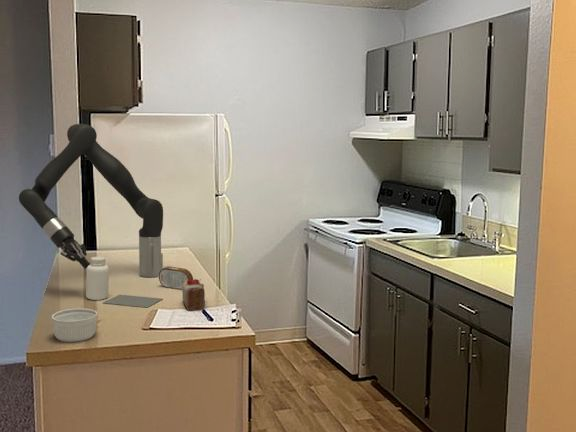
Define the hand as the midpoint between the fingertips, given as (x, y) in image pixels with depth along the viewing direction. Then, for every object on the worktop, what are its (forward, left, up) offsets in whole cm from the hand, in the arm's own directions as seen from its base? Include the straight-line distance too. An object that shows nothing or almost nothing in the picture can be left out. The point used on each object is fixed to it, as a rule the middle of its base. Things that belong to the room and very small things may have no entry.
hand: (87, 266), depth 235 cm
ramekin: (+14, +43, -12) cm, 47 cm away
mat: (-13, +13, -12) cm, 22 cm away
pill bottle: (-2, +2, -11) cm, 12 cm away
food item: (-31, +28, -12) cm, 43 cm away
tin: (-33, +1, -12) cm, 36 cm away
